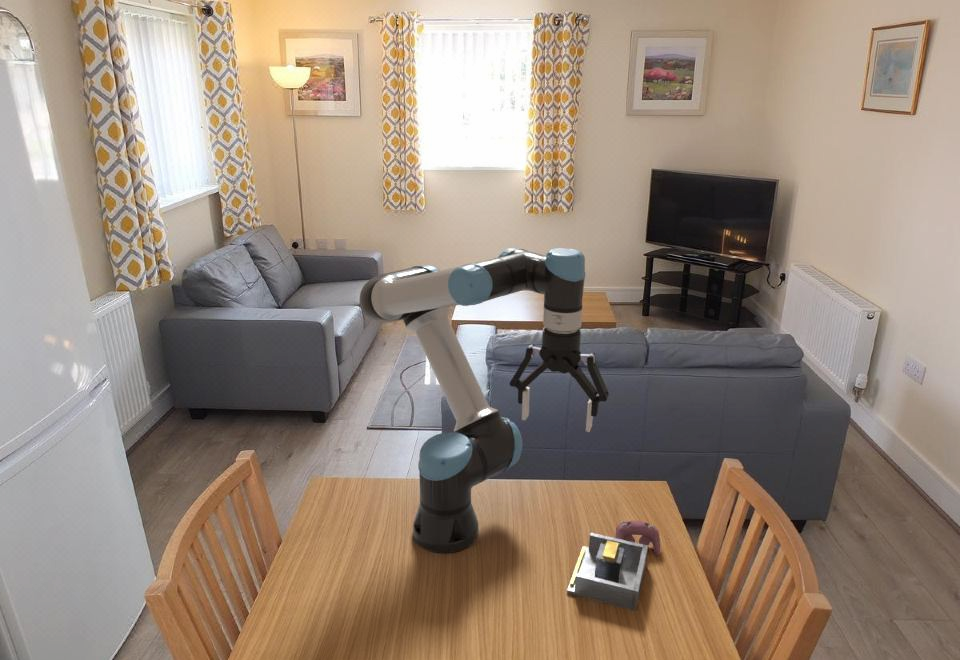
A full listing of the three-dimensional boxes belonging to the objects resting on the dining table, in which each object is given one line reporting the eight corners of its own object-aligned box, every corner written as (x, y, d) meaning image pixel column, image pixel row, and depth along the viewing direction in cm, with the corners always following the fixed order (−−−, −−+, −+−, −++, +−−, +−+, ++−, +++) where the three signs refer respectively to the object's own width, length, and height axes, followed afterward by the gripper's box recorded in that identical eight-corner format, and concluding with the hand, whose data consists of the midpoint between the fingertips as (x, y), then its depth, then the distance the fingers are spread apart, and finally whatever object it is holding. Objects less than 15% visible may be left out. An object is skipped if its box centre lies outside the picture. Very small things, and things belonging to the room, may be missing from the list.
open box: (567, 593, 142) (568, 574, 140) (582, 548, 155) (584, 531, 153) (635, 610, 137) (638, 591, 136) (645, 563, 150) (648, 545, 149)
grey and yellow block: (594, 581, 144) (596, 554, 141) (598, 565, 148) (601, 538, 146) (618, 587, 142) (620, 559, 140) (622, 571, 147) (624, 544, 144)
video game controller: (657, 552, 156) (658, 521, 157) (661, 557, 152) (662, 524, 153) (613, 549, 157) (614, 518, 158) (616, 554, 153) (617, 521, 153)
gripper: (496, 325, 137) (494, 420, 144) (622, 342, 129) (613, 442, 136) (507, 314, 144) (505, 405, 151) (628, 329, 136) (619, 425, 143)
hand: (556, 423), depth 144 cm, fingers open, 13 cm apart
